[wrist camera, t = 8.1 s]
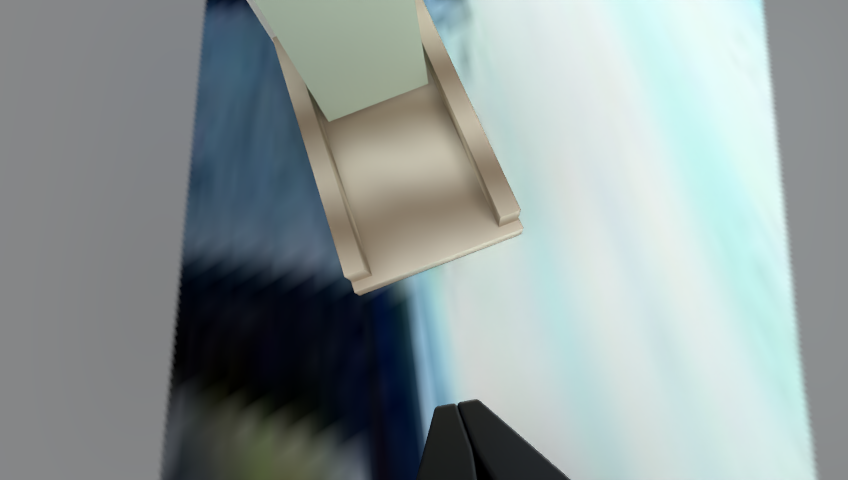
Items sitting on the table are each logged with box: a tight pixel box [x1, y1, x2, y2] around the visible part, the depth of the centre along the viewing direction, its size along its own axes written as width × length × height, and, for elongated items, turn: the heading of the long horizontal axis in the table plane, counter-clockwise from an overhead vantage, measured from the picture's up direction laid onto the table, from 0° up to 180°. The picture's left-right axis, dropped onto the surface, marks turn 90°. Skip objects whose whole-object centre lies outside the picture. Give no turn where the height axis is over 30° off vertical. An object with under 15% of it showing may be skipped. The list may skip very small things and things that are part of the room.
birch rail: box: [273, 0, 523, 295], centre depth 23 cm, size 17×9×2 cm, turn 20°
